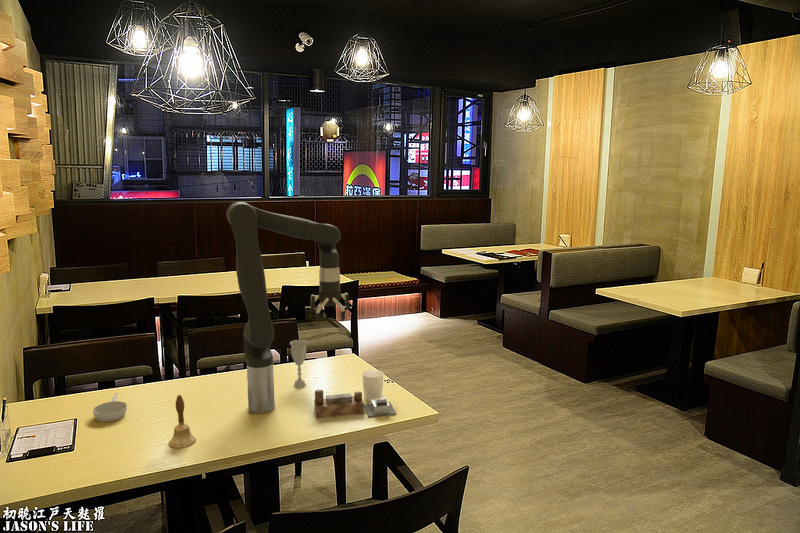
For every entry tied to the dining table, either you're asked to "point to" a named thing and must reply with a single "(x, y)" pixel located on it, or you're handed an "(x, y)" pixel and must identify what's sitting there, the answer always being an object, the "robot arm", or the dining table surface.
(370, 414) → the slate mat
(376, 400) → the lever cap
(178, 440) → the hand bell
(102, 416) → the pan
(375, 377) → the white cup
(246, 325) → the robot arm
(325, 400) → the plane body
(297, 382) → the chalice
